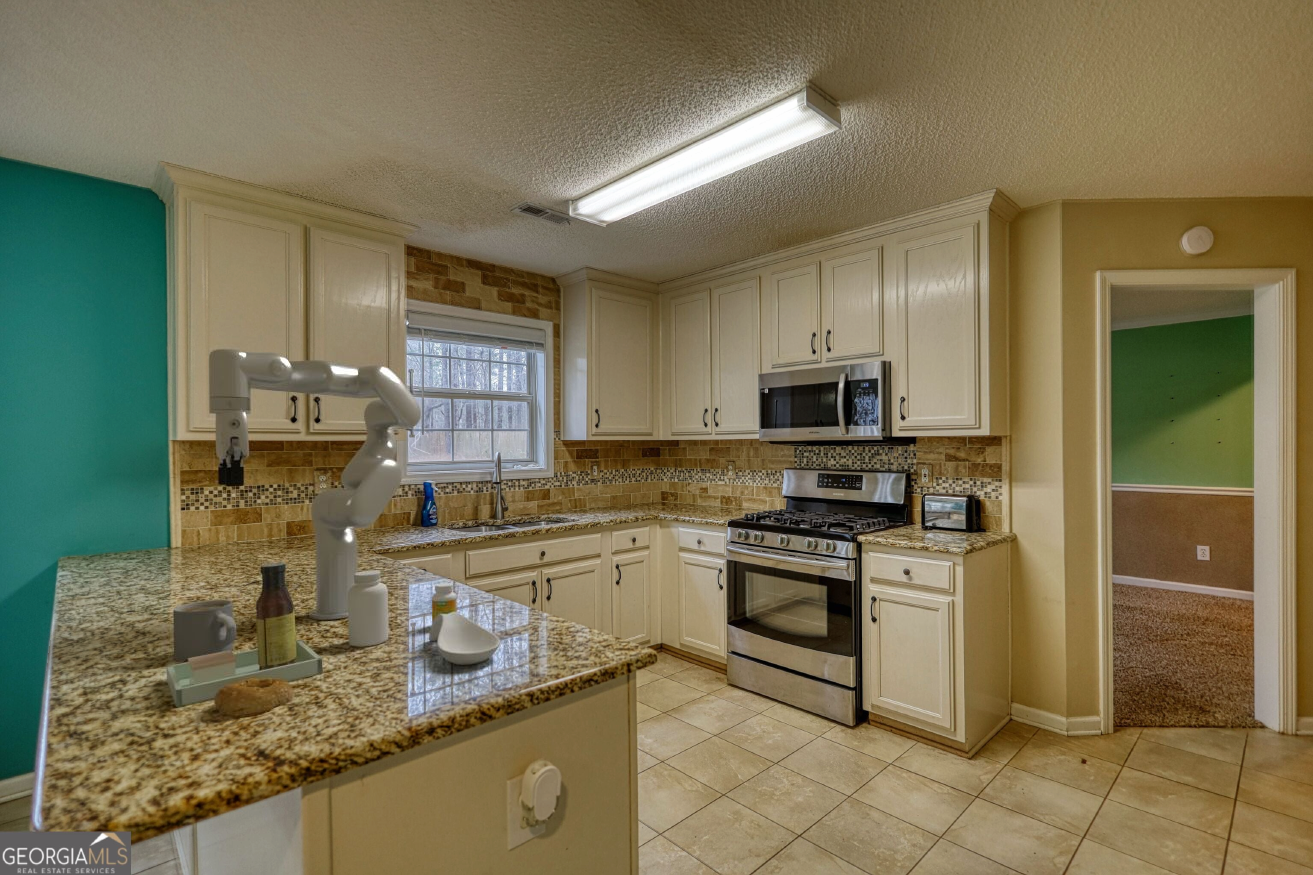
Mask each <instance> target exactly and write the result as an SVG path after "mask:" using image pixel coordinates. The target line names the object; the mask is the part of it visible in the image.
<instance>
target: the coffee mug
mask: <svg viewBox="0 0 1313 875" xmlns="http://www.w3.org/2000/svg"><path fill="white" fill-rule="evenodd" d="M233 605H234V604H233V601H232V600H230V599H229V600H228V599H211V600H200V601H194V602H190V603H186V604H182V605H179V606H176V607H174V609H173V661H175V662H183V661H188V658H192V657H197V656H202V655H208V654H213V653H218V652H223V651H229V650H231V651H232V652H233V650H234V641H235V640H236V637H237V625H236V622H235V619H234V614H233V612H234V611H233V610H234V609H233V608H234V607H233Z"/></svg>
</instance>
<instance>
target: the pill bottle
mask: <svg viewBox="0 0 1313 875" xmlns="http://www.w3.org/2000/svg"><path fill="white" fill-rule="evenodd" d="M381 577H382V576H381V571H380V570H377V569H376V570H364V571H358V573H355V574H354V581H355V582H354V583H355V584H356V585H355V586H353V587H351V588H350V589H349V591H348V617H347V618H348V619H347V623H348V624H347V626H348V629H347V630H348V632H347V633H348V644H349V645H350V646H352V647H360V648H361V647H362V648H364V647H371V646H376V645H379V644H382V643H385V642H387V640H388V638H389V594H388V592H389V589H388V586H387V585H386V584H385V583H383V582H381V581H382V579H381Z"/></svg>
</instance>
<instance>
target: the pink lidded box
mask: <svg viewBox="0 0 1313 875" xmlns="http://www.w3.org/2000/svg"><path fill="white" fill-rule="evenodd" d="M233 653H234V652H233V650H232V651H231V650H229V651H223V652H218V653H213V654H208V655H202V656H197V657H192V658H188V660H187V662H188V663H189V684H190V686H191V685H196V684H200V683H205V682H210V681H214V680H219V679H224V678H228V677H233V676H235V662H237V658H236V657H235V655H234V654H233Z"/></svg>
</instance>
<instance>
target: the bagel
mask: <svg viewBox="0 0 1313 875" xmlns="http://www.w3.org/2000/svg"><path fill="white" fill-rule="evenodd" d="M293 698H294V691H293V687H292V686H291V685H290V683H289V681H288V682H287V681H286V680H282V679H279V678H273V679H271V678H263V679H258V678H250V679H246V680H240V681H237V682H235V683H232V684H229V685H227V686H224V687H222V688H221V689H220V690H218V691H217V693H216V695H215V698H214V702H213V704H214V706H215V708H216V709H217V710H218V711H219V712H218V713H219V714H220V715H224V716H230V717H240V716H242V717H241V719H245V718H252V717H257V716H261V715H264V714H266V713H270V712H272V711H274V710H275V709H276V708H277V707H280V706H283V705H286V704H289V703H290V702H292V700H293Z"/></svg>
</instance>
